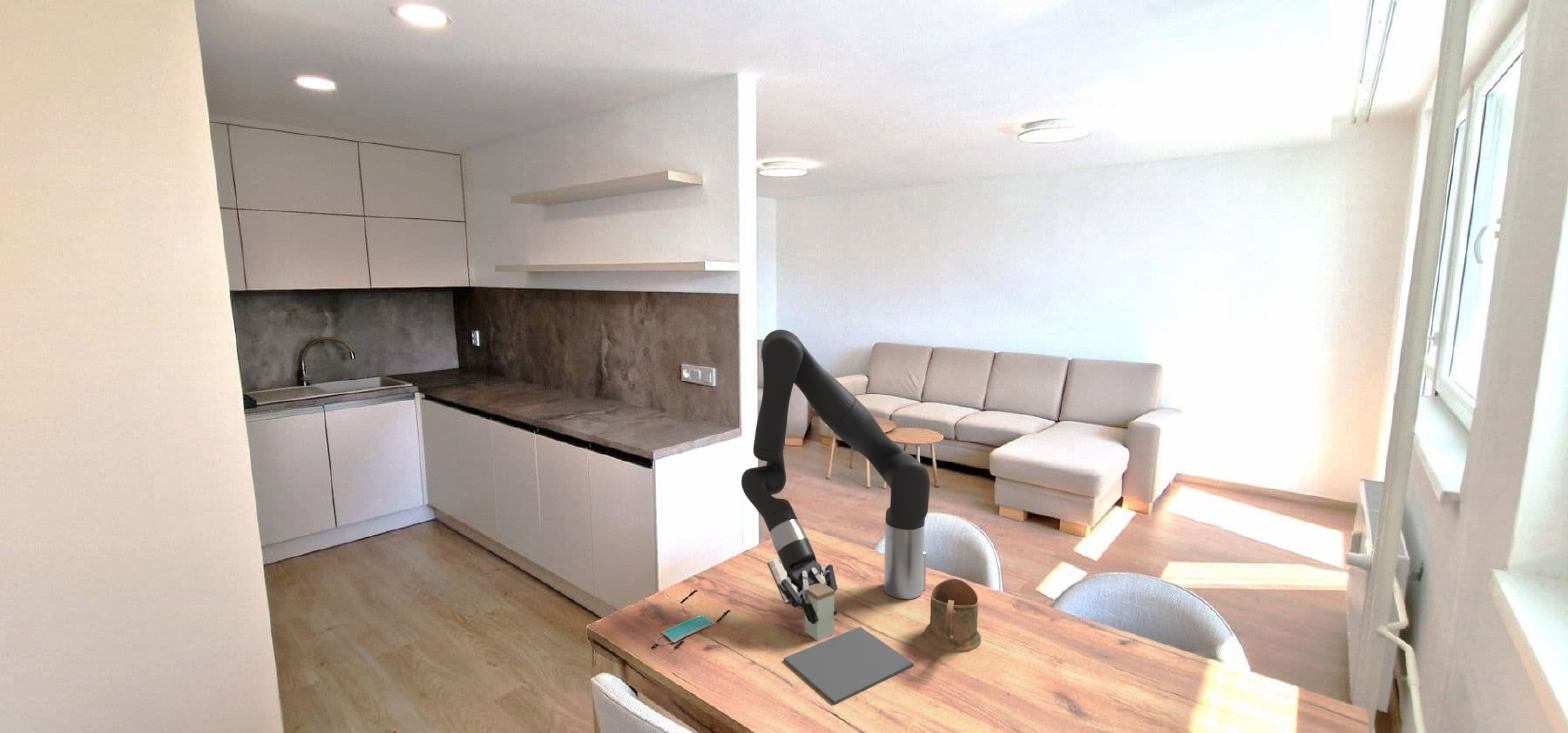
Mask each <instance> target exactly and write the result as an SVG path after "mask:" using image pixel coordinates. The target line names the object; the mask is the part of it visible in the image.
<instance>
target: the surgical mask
mask: <svg viewBox="0 0 1568 733" xmlns="http://www.w3.org/2000/svg"><path fill="white" fill-rule="evenodd" d="M697 592H699V591H698V589H694V590H693V591H691V592H690V594H688V595H687V596H686V597H685V598H682V600H681V601H680V602H679V603H680V604H682V605H683V603H685V602H686V601H687V600H689V599H690V598H691V597H692V596H694V594H695V593H697ZM681 607H682V609H683V611H684V613H685V614H687V611H686V610H685V609H684V607H683V606H681ZM728 613H731V610H729V609H727V610H726V611H724V612H723V614H722V615H721V616H720V617H718V618H719V619H718V618H716V620H715V621H712V619H710V618H709V617H708V616H706V617H703V616H704V614H701V615H699V616H700V617H698V616H697V617H696V616H695V617H693V618H689V619H688V620H685V621H682V622H681V623H678V624H676V625H673V626H672V627H669V628H667V629H666V630H663V631H661V632H660V633H661V635H660V636H657V638H656V639H655V643H654V644H653V645H652V646H651V647H650V648H651V649H653V650H654V649H655V648H656V647H658V646H659V647H660V646H661V643H660V642H658V641H657V640H658V639H659V638H661V637H663V636H664V637H665V638H667V639H668V640H670V641H668V642H665V643H662V646H663V645H667V644H670V643H674V644H675V643H676V642H678V643H677V645H675V646H674V649H677V650H678V649H679V647H680V646H682V644H684V643H685V641H684V640H685V638H687V637H690V636H692V635H693V634H696V633H698V632H701V631H703V630H705V629H706V628H709V627H711V626H713V625H715V623H720V622H721V621H722V619H723V618H725V616H727V615H728ZM713 622H714V623H713ZM702 629H703V630H702ZM700 630H701V631H700ZM679 641H680V642H679Z"/></svg>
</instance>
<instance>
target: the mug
mask: <svg viewBox="0 0 1568 733" xmlns="http://www.w3.org/2000/svg"><path fill="white" fill-rule="evenodd" d="M929 605H930V615H929V624H927V625H926V627H925V628H924V629H925V630H924V634H925V638H926V640H927V641H928V642H929V643H930V644H932V645H933V646H935V647H937V648H939V649H941V650H944V651H948V652H955V653H965V652H966V651H967V652H971V651H973V649H974V650H976V649H977V648H978V647H979V646H980V645H981V643H982V635H981V633H980V632H979V631H978V617H979V616H978V614H979V612H978V611H979V597H978V594H977V592H976V590H975V589H974V588H973V587H972V586H971V585H970V584H968V583H967V582H966V581H964V580H962V579H959V578H949V579H946V580H944V581H943V580H942V581H941V582H939V583H937V584H936V585H935V586H934V587H933V589H932V590H931V592H930V604H929Z"/></svg>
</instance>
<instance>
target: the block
mask: <svg viewBox="0 0 1568 733" xmlns="http://www.w3.org/2000/svg"><path fill="white" fill-rule="evenodd" d="M807 594H808V596H809V598H810V604H812V606H813V608H814V610H815V613H816V615H817V617H818V619H819V620H818V621H817V622H816V623H815V624H812V623H811V622H809V621H808V619H807V617H806V615H805V614H804V632H805V633H806V634H808V635H809V636H811V637H812V638H813V639H815V641H817V642H818V641H820V640H823V639H825V638H828V637H830V636H832V635H834V634H835V616H834V601H835V595H834V594H835V592H834V590H833V589H832V588H830V587H829V586H827V585H826V584H824V583H822V584H821V583H817V584H814V585H811V586H809V588H808V589H807Z"/></svg>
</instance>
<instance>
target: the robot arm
mask: <svg viewBox="0 0 1568 733" xmlns="http://www.w3.org/2000/svg"><path fill="white" fill-rule="evenodd" d="M760 354H761V356H760V358H761V361H762V372H763V373H762V375H763V376H762V377H763V379H762V380H763V383H762V384H763V386H762V396H761V403H760V406H759V412H758V416H757V421H756V425H755V432H754V439H753V448H752V450H753V451H752V452H753V453H752V454H753V456H754V457H755V458H756V459H758V460H760V461H764V462H766V465H761V466H756V467H755V466H754V467H750V468H748V469H745V470H744V472H743V473H742V476H741V480H740V481H741V482H740V483H741V484H740V485H741V488H742V489H741V490H742V492H743V493H744V495H745V497H746V498H747V500H748V501H749V503H751V504H752V505H753V507H754V508H755V509H756V511H757V512H758V513H759V514H760V515H761V517H762V518H763V520H764V523H765V525H766V528H767V530H768V532H769V535H770V538H771V541H772V544H773V546H774V550H775V551H776V553H777V556H778V558H780V561H781V563H782V565H783V568H784V570H785V571H786V572H787V578H786V579H783V580H782V581H781V582H780V583H779V584H777V586H778V587H777V588H780V589H779V591H780V590H781V591H782V592H783V594H784V595H785V596H786V598H787V599H788V601H789V602H788V603H790V604H791V606H792V607H793V608H802V610H803V612H804V616H805V615H806V617H807V619H808V621H809V622H811V623H812V624H815V623H816V622H817V621H818V620H819V619H818V617H817V615H816V613H815V610H814V608H813V606H812V604H810V598H809V596H808V594H807V589H808V588H809V586H811V585H814V584H817V583H821V584H822V583H824V584H826V585H827V586H829V587H830V588H832V589H833V590H834V593H835V592H836V591H837V590H838V584H837V580H836V575H835V570H834V566H833V565H832V564H831V563H830V564H828V565H821V564H820V563H819V562H818V561H817V558H816V557H817V556H816V553H815V551H814V549H813V547H812V544H811V542H810V541H809V538H808V536H807V534H806V532H805V530H804V528H803V526H802V524H801V522H800V521H799V519H798V517H797V515H796V513H795V511H794V509H793V506H792V504H791V503H790V502H789V500H787V499H786V498H778V497H776V496H775V497H774V495H777V494H779V493H781V492H782V491H783V490H784V488H785V487H786V483H787V474H786V466H785V459H784V449H785V448H784V447H785V441H786V436H787V429H788V428H787V426H788V419H789V418H788V416H789V407H790V401H791V395H792V393H793V392H792V391H793V388H794V385H795V386H796V387H797V388H798V390H800V391H801V393H802V394H803V395H804V397H805V398H806V400H807V401H808V404H809V405H810V406H811V408H812V409H813V410H814V412H815V413H816V414H817V415H818V417H819V418H820V420H821V421H823V422H824V424H825V425H826V426H827V427H828V428H829V429H830V430H831V431H832V432H833V433H834V434H835V435H836V436H837V437H839V438H840V439H841V440H842V441H843V442H844V443H846V444H847V445H848V446H849V447H851V448H852V449H853V450H856V451H857V452H858V453H860V454H861V455H862V456H864V457H865V458H866V460H868V462H869V463H870V464H871V465H872V467H873V468H874V469H875V470H876V471H877V473H878V474H879V475H880V476H881V477H882V479H883V480H884V482H885V483H886V485H887V486H888V487H889V488H890V501H889V502H890V505H889V507H888V508H887V509H886V512H885V524H884V525H885V526H884V529H885V530H884V532H885V533H884V535H885V536H884V537H885V538H884V568H883V569H884V571H883V572H884V574H883V577H884V578H883V581H884V583H883V590H884V592H885V593H886V594H887V595H889V596H891V597H894V598H897V599H901V600H911V599H915V598H918V597H921V595H922V594H923V593H924V592H923V591H925V590H926V580H927V579H926V578H927V556H928V555H927V552H926V551H925V524H926V523H925V522H926V517H927V515H928V511H929V505H930V504H929V503H930V502H929V500H930V490H931V489H930V488H931V487H930V484H931V483H930V475H929V472H928V471H929V470H927V468H926V466H924V465H923V464H922V462H920V461H919V460H917V458H915V457H914V456H912V455H911V454H909V453H908V452H907V451H905V450H904V449H903V448H902V447H901V446H899V445H898V444H897V443H896V442H894V441H893V440H892V439H891V438H890V437H889V436H888V435H887V434H886V433H885V432H884V430H883V429H882V427H881V426H880V425H879V423H878V421H877V420H876V419H875V417H874V416H873V415H872V414H871V412H870V411H869V410H868V408H866V407H865V405H863V404H862V403H861V402H860V401H859V400H858V398H857V397H856V396H855V395H854V394H853V393H852V392H851V391H849V390H848V389H847V387H845V386H844V385H843V384H842V383H840V381H839V380H837V379H836V378H835V377H834V376H832V375H831V374H830V373H829V372H828V371H827V370H826V369H824V368H823V366H822V365H820V363H818V361H817V360H816V359H815V358H814V357H813V355H812V354H811V352H809V351H808V349H807V348H806V347H805V345H804V344H803V342H802V341H801V340H800V338H799V337H798V336H797V335H796V334H795V333H793V332H791V331H789V330H787V329H776V330H773V331H771V332H769V333H768V334H766V336H765V338H764V339H763V341H762V344H761V351H760ZM821 576H822V577H823V578H822V577H821ZM792 584H793V585H795V586H796V588H797V593H796V591H795V590H794V589H793V587H792ZM781 591H780V592H781ZM838 608H839V607H838V606H837V604H836V602H835V600H834V617H835V616H836V615H838Z"/></svg>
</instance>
